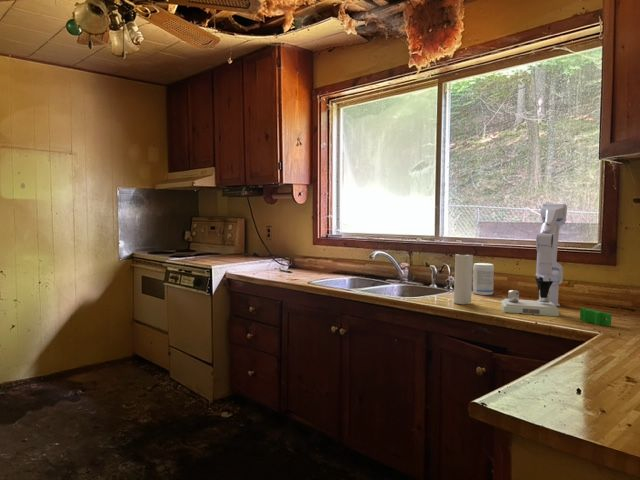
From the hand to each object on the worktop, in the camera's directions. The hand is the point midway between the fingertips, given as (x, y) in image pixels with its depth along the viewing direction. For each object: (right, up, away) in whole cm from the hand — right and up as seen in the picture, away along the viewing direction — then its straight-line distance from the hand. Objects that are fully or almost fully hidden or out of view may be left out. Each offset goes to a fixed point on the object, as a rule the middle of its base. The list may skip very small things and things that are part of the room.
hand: (542, 296), depth 189 cm
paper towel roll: (-28, -5, +15) cm, 32 cm away
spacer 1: (-11, -3, +4) cm, 11 cm away
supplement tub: (-10, -4, +40) cm, 42 cm away
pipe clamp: (+10, -8, -18) cm, 22 cm away
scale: (-5, -6, +2) cm, 8 cm away
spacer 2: (+1, -2, 0) cm, 2 cm away
